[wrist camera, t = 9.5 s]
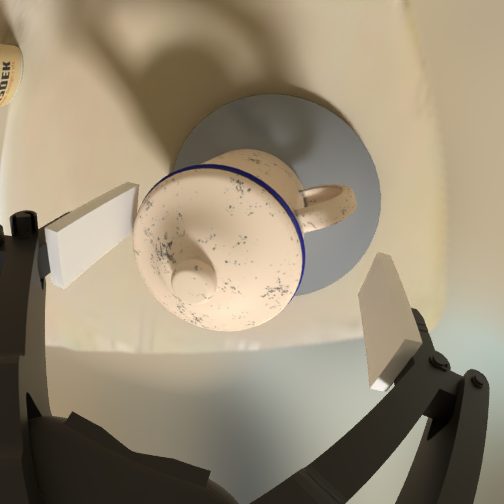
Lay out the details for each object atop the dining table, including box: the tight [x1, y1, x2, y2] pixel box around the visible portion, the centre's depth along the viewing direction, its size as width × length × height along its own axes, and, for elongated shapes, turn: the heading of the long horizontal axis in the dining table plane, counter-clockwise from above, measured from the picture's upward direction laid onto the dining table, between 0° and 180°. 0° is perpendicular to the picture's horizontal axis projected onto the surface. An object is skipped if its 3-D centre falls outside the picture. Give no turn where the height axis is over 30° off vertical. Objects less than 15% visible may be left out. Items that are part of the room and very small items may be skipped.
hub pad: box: [173, 94, 381, 296], centre depth 23 cm, size 16×16×1 cm
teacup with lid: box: [133, 149, 357, 331], centre depth 17 cm, size 12×9×12 cm
